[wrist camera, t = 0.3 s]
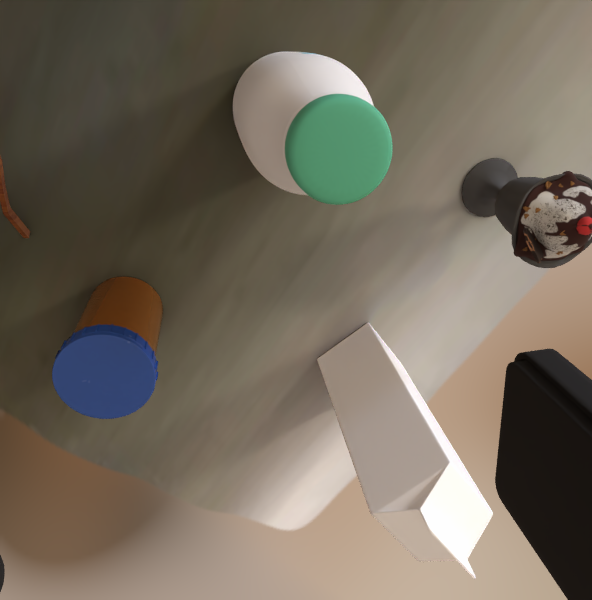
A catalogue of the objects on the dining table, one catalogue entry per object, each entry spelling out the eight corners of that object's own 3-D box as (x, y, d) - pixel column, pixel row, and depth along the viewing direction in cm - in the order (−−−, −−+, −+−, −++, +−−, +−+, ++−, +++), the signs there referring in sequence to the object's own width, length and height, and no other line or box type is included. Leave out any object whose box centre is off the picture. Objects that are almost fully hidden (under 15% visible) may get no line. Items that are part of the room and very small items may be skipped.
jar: (86, 275, 44) (54, 334, 35) (162, 277, 45) (151, 335, 36) (91, 340, 46) (62, 412, 37) (163, 340, 47) (152, 410, 38)
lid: (52, 322, 36) (46, 333, 34) (157, 323, 37) (155, 334, 35) (61, 407, 38) (55, 420, 37) (158, 406, 39) (157, 419, 38)
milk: (367, 321, 50) (475, 498, 30) (401, 363, 52) (522, 553, 32) (314, 359, 51) (384, 556, 31) (350, 400, 53) (437, 606, 33)
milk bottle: (254, 174, 43) (288, 266, 25) (215, 74, 39) (221, 95, 21) (346, 138, 43) (447, 204, 25) (315, 35, 39) (406, 23, 21)
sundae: (535, 149, 45) (675, 191, 32) (515, 227, 48) (636, 297, 34) (461, 144, 44) (572, 186, 31) (445, 224, 47) (541, 295, 33)
